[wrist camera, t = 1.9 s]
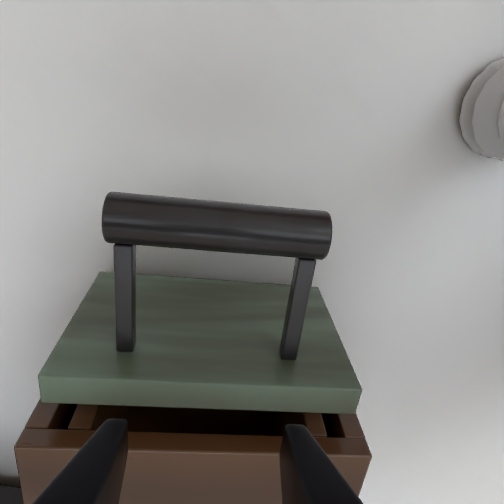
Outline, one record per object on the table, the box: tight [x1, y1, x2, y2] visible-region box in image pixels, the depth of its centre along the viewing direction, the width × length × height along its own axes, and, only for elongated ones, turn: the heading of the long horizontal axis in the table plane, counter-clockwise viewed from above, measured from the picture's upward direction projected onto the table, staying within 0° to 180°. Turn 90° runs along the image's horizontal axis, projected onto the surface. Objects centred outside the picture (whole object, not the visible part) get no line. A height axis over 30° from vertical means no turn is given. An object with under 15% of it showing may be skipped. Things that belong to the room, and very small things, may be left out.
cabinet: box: [14, 398, 372, 504], centre depth 21 cm, size 15×12×9 cm
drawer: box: [38, 192, 362, 437], centre depth 18 cm, size 19×11×7 cm, turn 173°
